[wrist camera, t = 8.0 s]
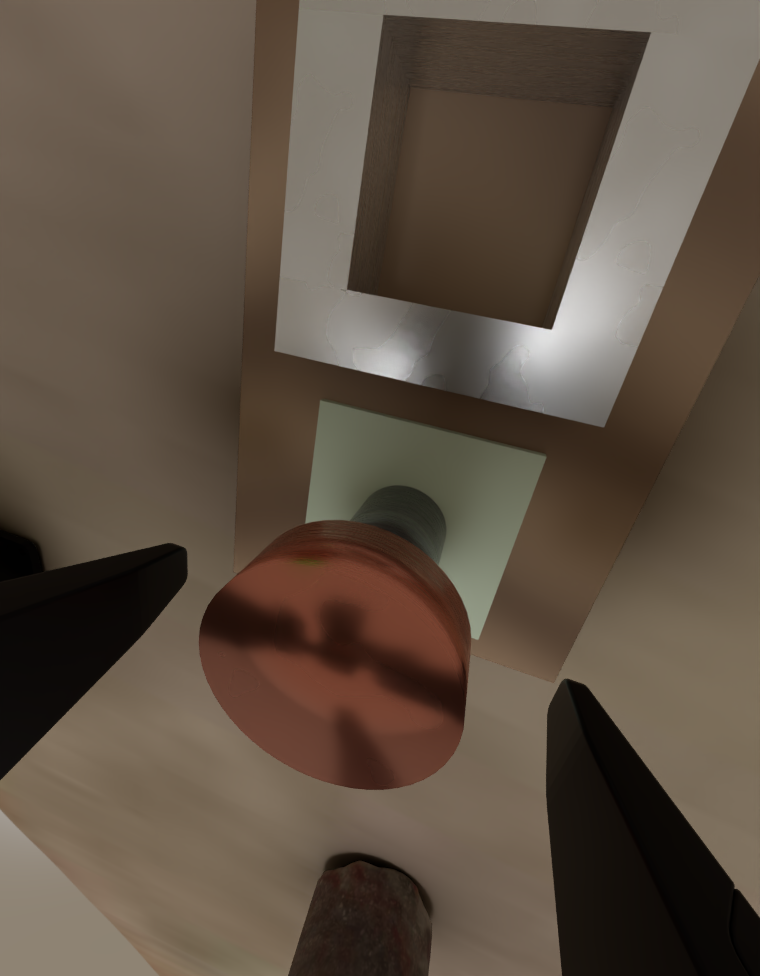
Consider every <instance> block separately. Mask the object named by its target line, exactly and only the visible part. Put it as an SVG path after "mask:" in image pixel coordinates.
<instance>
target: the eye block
mask: <svg viewBox="0 0 760 976" xmlns="http://www.w3.org/2000/svg"><path fill="white" fill-rule="evenodd" d="M759 59H760V0H299V14H298V28H297V42H296V56H295V70H294V84H293V98H292V112H291V126H290V140H289V154H288V168H287V182H286V196H285V210H284V224H283V238H282V252H281V266H280V280H279V294H278V308H277V322H276V336H275V350H274V351H277V352H281V353H285V354H290V355H294V356H298V357H302V358H307V359H311V360H315V361H320V362H324V363H328V364H333V365H337V366H341V367H346V368H350V369H354V370H358V371H363V372H367V373H371V374H376V375H380V376H384V377H389V378H393V379H397V380H401V381H406V382H410V383H414V384H419V385H423V386H427V387H432V388H436V389H440V390H444V391H449V392H453V393H457V394H462V395H466V396H470V397H475V398H479V399H483V400H487V401H492V402H496V403H500V404H505V405H509V406H513V407H518V408H522V409H526V410H530V411H535V412H539V413H543V414H548V415H552V416H556V417H561V418H565V419H569V420H573V421H578V422H582V423H586V424H591V425H595V426H599V427H604V426H605V424H606V422H607V419H608V417H609V415H610V412H611V410H612V408H613V405H614V403H615V400H616V398H617V396H618V393H619V391H620V389H621V386H622V384H623V381H624V379H625V377H626V374H627V372H628V370H629V367H630V365H631V363H632V360H633V358H634V355H635V353H636V351H637V348H638V346H639V344H640V341H641V339H642V336H643V334H644V332H645V329H646V327H647V325H648V322H649V320H650V317H651V315H652V313H653V310H654V308H655V306H656V303H657V301H658V299H659V296H660V294H661V291H662V289H663V287H664V284H665V282H666V280H667V277H668V275H669V272H670V270H671V268H672V265H673V263H674V261H675V258H676V256H677V253H678V251H679V249H680V246H681V244H682V242H683V239H684V237H685V235H686V232H687V230H688V227H689V225H690V223H691V220H692V218H693V216H694V213H695V211H696V208H697V206H698V204H699V201H700V199H701V197H702V194H703V192H704V190H705V187H706V185H707V182H708V180H709V178H710V175H711V173H712V171H713V168H714V166H715V163H716V161H717V159H718V156H719V154H720V152H721V149H722V147H723V144H724V142H725V140H726V137H727V135H728V133H729V130H730V128H731V126H732V123H733V121H734V118H735V116H736V114H737V111H738V109H739V107H740V104H741V102H742V99H743V97H744V95H745V92H746V90H747V88H748V85H749V83H750V81H751V78H752V76H753V73H754V71H755V69H756V66H757V64H758V62H759ZM411 88H417V89H427V90H437V91H447V92H457V93H468V94H478V95H488V96H498V97H508V98H518V99H528V100H539V101H549V102H559V103H569V104H579V105H589V106H599V107H609V108H613V109H612V112H611V115H610V118H609V121H608V124H607V128H606V131H605V134H604V137H603V140H602V143H601V146H600V149H599V152H598V155H597V158H596V162H595V165H594V168H593V171H592V174H591V177H590V180H589V183H588V186H587V189H586V193H585V196H584V199H583V202H582V205H581V208H580V211H579V214H578V217H577V220H576V223H575V227H574V230H573V233H572V236H571V239H570V242H569V245H568V248H567V251H566V254H565V257H564V261H563V264H562V267H561V270H560V273H559V276H558V279H557V282H556V285H555V288H554V292H553V295H552V298H551V301H550V304H549V307H548V310H547V313H546V316H545V319H544V322H543V326H542V328H539V327H534V326H529V325H524V324H519V323H514V322H508V321H503V320H498V319H493V318H488V317H483V316H478V315H473V314H468V313H463V312H457V311H452V310H447V309H442V308H437V307H432V306H427V305H422V304H417V303H412V302H406V301H401V300H396V299H391V298H386V297H381V296H377V293H378V286H379V280H380V274H381V268H382V262H383V256H384V249H385V243H386V237H387V231H388V225H389V219H390V212H391V206H392V200H393V194H394V188H395V182H396V175H397V169H398V163H399V157H400V151H401V145H402V138H403V132H404V126H405V120H406V114H407V108H408V101H409V95H410V89H411Z"/></svg>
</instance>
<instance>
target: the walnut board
mask: <svg viewBox="0 0 760 976" xmlns="http://www.w3.org/2000/svg"><path fill="white" fill-rule="evenodd" d="M298 14H299V0H257V2H256V27H255V52H254V77H253V101H252V126H251V151H250V175H249V200H248V225H247V250H246V274H245V299H244V324H243V349H242V373H241V398H240V423H239V448H238V472H237V497H236V522H235V546H234V571H233V572H234V573H237V574H238V573H239V572H240V571H241V570H242V569H244V568H245V567H246V566H247V565H248V564H249V563H250V562H251V561H252V560H253V559H254V558H255V557H256V556H257V555H259V554H260V553H261V552H262V551H263V550H264V549H265V548H266V547H267V546H268V545H269V544H270V543H271V542H272V541H273V540H275V539H276V538H277V537H279V536H280V535H282V534H283V533H285V532H286V531H288V530H290V529H292V528H295V527H297V526H300V525H303V524H305V521H306V513H307V505H308V496H309V488H310V480H311V472H312V464H313V455H314V447H315V439H316V431H317V422H318V414H319V406H320V400H322V399H327V400H331V401H335V402H339V403H343V404H347V405H351V406H355V407H359V408H363V409H367V410H371V411H375V412H379V413H383V414H387V415H391V416H395V417H399V418H403V419H407V420H411V421H415V422H419V423H423V424H427V425H431V426H435V427H439V428H443V429H447V430H451V431H455V432H459V433H463V434H467V435H471V436H475V437H479V438H483V439H487V440H491V441H495V442H499V443H503V444H507V445H511V446H515V447H519V448H523V449H527V450H531V451H535V452H539V453H543V454H546V460H545V463H544V465H543V468H542V471H541V473H540V476H539V479H538V481H537V484H536V487H535V489H534V492H533V495H532V497H531V500H530V503H529V505H528V508H527V511H526V513H525V516H524V519H523V522H522V524H521V527H520V530H519V532H518V535H517V538H516V540H515V543H514V546H513V548H512V551H511V554H510V556H509V559H508V562H507V564H506V567H505V570H504V572H503V575H502V578H501V580H500V583H499V586H498V588H497V591H496V594H495V597H494V599H493V602H492V605H491V607H490V610H489V613H488V615H487V618H486V621H485V623H484V626H483V629H482V631H481V634H480V637H479V639H478V640H477V639H474V638H471V651H470V654H471V655H474V656H477V657H480V658H483V659H486V660H489V661H491V662H494V663H497V664H500V665H503V666H506V667H509V668H512V669H515V670H517V671H520V672H523V673H526V674H529V675H532V676H535V677H538V678H540V679H543V680H546V681H549V682H552V683H554V682H555V680H556V678H557V676H558V674H559V672H560V670H561V668H562V666H563V664H564V662H565V660H566V658H567V656H568V654H569V652H570V650H571V648H572V646H573V644H574V642H575V640H576V638H577V636H578V634H579V632H580V630H581V628H582V626H583V624H584V622H585V620H586V618H587V616H588V614H589V612H590V610H591V608H592V606H593V604H594V602H595V600H596V598H597V596H598V594H599V592H600V590H601V588H602V586H603V584H604V582H605V580H606V578H607V576H608V575H609V573H610V571H611V569H612V567H613V565H614V563H615V561H616V559H617V557H618V555H619V553H620V551H621V549H622V547H623V545H624V543H625V541H626V539H627V537H628V535H629V533H630V531H631V529H632V527H633V525H634V523H635V521H636V519H637V517H638V515H639V513H640V511H641V509H642V507H643V505H644V503H645V501H646V499H647V497H648V495H649V493H650V491H651V489H652V487H653V485H654V483H655V481H656V479H657V477H658V475H659V473H660V471H661V469H662V467H663V465H664V463H665V461H666V459H667V457H668V455H669V454H670V452H671V450H672V448H673V446H674V444H675V442H676V440H677V438H678V436H679V434H680V432H681V430H682V428H683V426H684V424H685V422H686V420H687V418H688V416H689V414H690V412H691V410H692V408H693V406H694V404H695V402H696V400H697V398H698V396H699V394H700V392H701V390H702V388H703V386H704V384H705V382H706V380H707V378H708V376H709V374H710V372H711V370H712V368H713V366H714V364H715V362H716V360H717V358H718V356H719V354H720V352H721V350H722V348H723V346H724V344H725V342H726V340H727V338H728V336H729V334H730V333H731V331H732V329H733V327H734V325H735V323H736V321H737V319H738V317H739V315H740V313H741V311H742V309H743V307H744V305H745V303H746V301H747V299H748V297H749V295H750V293H751V291H752V289H753V287H754V285H755V283H756V281H757V279H758V277H759V275H760V59H759V62H758V64H757V66H756V69H755V71H754V73H753V76H752V78H751V81H750V83H749V85H748V88H747V90H746V92H745V95H744V97H743V99H742V102H741V104H740V107H739V109H738V111H737V114H736V116H735V118H734V121H733V123H732V126H731V128H730V130H729V133H728V135H727V137H726V140H725V142H724V144H723V147H722V149H721V152H720V154H719V156H718V159H717V161H716V163H715V166H714V168H713V171H712V173H711V175H710V178H709V180H708V182H707V185H706V187H705V190H704V192H703V194H702V197H701V199H700V201H699V204H698V206H697V208H696V211H695V213H694V216H693V218H692V220H691V223H690V225H689V227H688V230H687V232H686V235H685V237H684V239H683V242H682V244H681V246H680V249H679V251H678V253H677V256H676V258H675V261H674V263H673V265H672V268H671V270H670V272H669V275H668V277H667V280H666V282H665V284H664V287H663V289H662V291H661V294H660V296H659V299H658V301H657V303H656V306H655V308H654V310H653V313H652V315H651V317H650V320H649V322H648V325H647V327H646V329H645V332H644V334H643V336H642V339H641V341H640V344H639V346H638V348H637V351H636V353H635V355H634V358H633V360H632V363H631V365H630V367H629V370H628V372H627V374H626V377H625V379H624V381H623V384H622V386H621V389H620V391H619V393H618V396H617V398H616V400H615V403H614V405H613V408H612V410H611V412H610V415H609V417H608V419H607V422H606V424H605V426H604V427H599V426H595V425H591V424H586V423H582V422H578V421H573V420H569V419H565V418H561V417H556V416H552V415H548V414H543V413H539V412H535V411H530V410H526V409H522V408H518V407H513V406H509V405H505V404H500V403H496V402H492V401H487V400H483V399H479V398H475V397H470V396H466V395H462V394H457V393H453V392H449V391H444V390H440V389H436V388H432V387H427V386H423V385H419V384H414V383H410V382H406V381H401V380H397V379H393V378H389V377H384V376H380V375H376V374H371V373H367V372H363V371H358V370H354V369H350V368H346V367H341V366H337V365H333V364H328V363H324V362H320V361H315V360H311V359H307V358H302V357H298V356H294V355H290V354H285V353H281V352H277V351H274V350H275V336H276V322H277V308H278V294H279V280H280V266H281V252H282V238H283V224H284V210H285V196H286V182H287V168H288V154H289V140H290V126H291V112H292V98H293V84H294V70H295V56H296V42H297V28H298ZM612 109H613V108H609V107H599V106H589V105H579V104H569V103H559V102H549V101H539V100H528V99H518V98H508V97H498V96H488V95H478V94H468V93H457V92H447V91H437V90H427V89H417V88H411V89H410V95H409V101H408V108H407V114H406V120H405V126H404V132H403V138H402V145H401V151H400V157H399V163H398V169H397V175H396V182H395V188H394V194H393V200H392V206H391V212H390V219H389V225H388V231H387V237H386V243H385V249H384V256H383V262H382V268H381V274H380V280H379V286H378V293H377V296H381V297H386V298H391V299H396V300H401V301H406V302H412V303H417V304H422V305H427V306H432V307H437V308H442V309H447V310H452V311H457V312H463V313H468V314H473V315H478V316H483V317H488V318H493V319H498V320H503V321H508V322H514V323H519V324H524V325H529V326H534V327H539V328H542V326H543V322H544V319H545V316H546V313H547V310H548V307H549V304H550V301H551V298H552V295H553V292H554V288H555V285H556V282H557V279H558V276H559V273H560V270H561V267H562V264H563V261H564V257H565V254H566V251H567V248H568V245H569V242H570V239H571V236H572V233H573V230H574V227H575V223H576V220H577V217H578V214H579V211H580V208H581V205H582V202H583V199H584V196H585V193H586V189H587V186H588V183H589V180H590V177H591V174H592V171H593V168H594V165H595V162H596V158H597V155H598V152H599V149H600V146H601V143H602V140H603V137H604V134H605V131H606V128H607V124H608V121H609V118H610V115H611V112H612Z"/></svg>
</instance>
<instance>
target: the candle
mask: <svg viewBox="0 0 760 976" xmlns="http://www.w3.org/2000/svg"><path fill="white" fill-rule="evenodd" d="M431 940H432V923H431V921H430V919H429V916H428V912H427V911H426V909H425V907H424V905H423V902H422V900H421V897H420V895H419V892H418V888H417V887H416V885H415V884H414V883H413V882H412V881H411V880H410V879H409V878H408V877H407V876H406V875H404V874H403V873H401V872H398V871H396V870H395V869H390V868H384V867H383V868H379V867H376V866H374V865H372V864H369V863H366V862H364V861H357V862H353V863H351V864H349V865H347V866H346V867H340V868H337V869H335V870H328V871H325V872H324V873H323V875H322V876H321V877H320V878H319V880H318V882H317V886H316V889H315V891H314V894H313V897H312V901H311V904H310V907H309V910H308V914H307V917H306V920H305V923H304V926H303V929H302V933H301V936H300V939H299V942H298V945H297V949H296V952H295V955H294V958H293V962H292V965H291V968H290V971H289V975H288V976H428V971H429V962H430V953H431Z"/></svg>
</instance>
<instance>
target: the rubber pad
mask: <svg viewBox="0 0 760 976" xmlns="http://www.w3.org/2000/svg"><path fill="white" fill-rule="evenodd" d="M545 460H546V454H543V453H539V452H535V451H531V450H527V449H523V448H519V447H515V446H511V445H507V444H503V443H499V442H495V441H491V440H487V439H483V438H479V437H475V436H471V435H467V434H463V433H459V432H455V431H451V430H447V429H443V428H439V427H435V426H431V425H427V424H423V423H419V422H415V421H411V420H407V419H403V418H399V417H395V416H391V415H387V414H383V413H379V412H375V411H371V410H367V409H363V408H359V407H355V406H351V405H347V404H343V403H339V402H335V401H331V400H327V399H322V400H320V406H319V414H318V422H317V431H316V439H315V447H314V455H313V464H312V472H311V480H310V488H309V496H308V505H307V513H306V521H305V524H306V523H310V522H315V521H322V520H347V521H350V520H351V519H352V517H353V516H354V515H355V514H356V512H357V511H358V510H359V508H360V507H361V506H362V505H363V503H364V502H365V501H366V500H367V498H368V497H369V496H370V495H371V494H373V493H374V492H376V491H377V490H379V489H381V488H384V487H387V486H393V485H401V486H408V487H412V488H415V489H418V490H420V491H422V492H423V493H425V494H426V495H428V496H429V497H430V498H432V499H433V500H434V502H435V503H436V504H437V505H438V506H439V508H440V509H441V511H442V513H443V516H444V518H445V522H446V538H445V543H444V546H443V550H442V554H441V558H440V562H439V567H440V568H441V569H442V570H443V571H444V572H445V574H446V575H447V576H448V578H449V579H450V580H451V582H452V583H453V584H454V586H455V588H456V590H457V591H458V593H459V595H460V597H461V598H462V601H463V603H464V606H465V608H466V611H467V614H468V618H469V622H470V627H471V638H474V639H477V640H478V639H479V637H480V634H481V631H482V629H483V626H484V623H485V621H486V618H487V615H488V613H489V610H490V607H491V605H492V602H493V599H494V597H495V594H496V591H497V588H498V586H499V583H500V580H501V578H502V575H503V572H504V570H505V567H506V564H507V562H508V559H509V556H510V554H511V551H512V548H513V546H514V543H515V540H516V538H517V535H518V532H519V530H520V527H521V524H522V522H523V519H524V516H525V513H526V511H527V508H528V505H529V503H530V500H531V497H532V495H533V492H534V489H535V487H536V484H537V481H538V479H539V476H540V473H541V471H542V468H543V465H544V463H545Z"/></svg>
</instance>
